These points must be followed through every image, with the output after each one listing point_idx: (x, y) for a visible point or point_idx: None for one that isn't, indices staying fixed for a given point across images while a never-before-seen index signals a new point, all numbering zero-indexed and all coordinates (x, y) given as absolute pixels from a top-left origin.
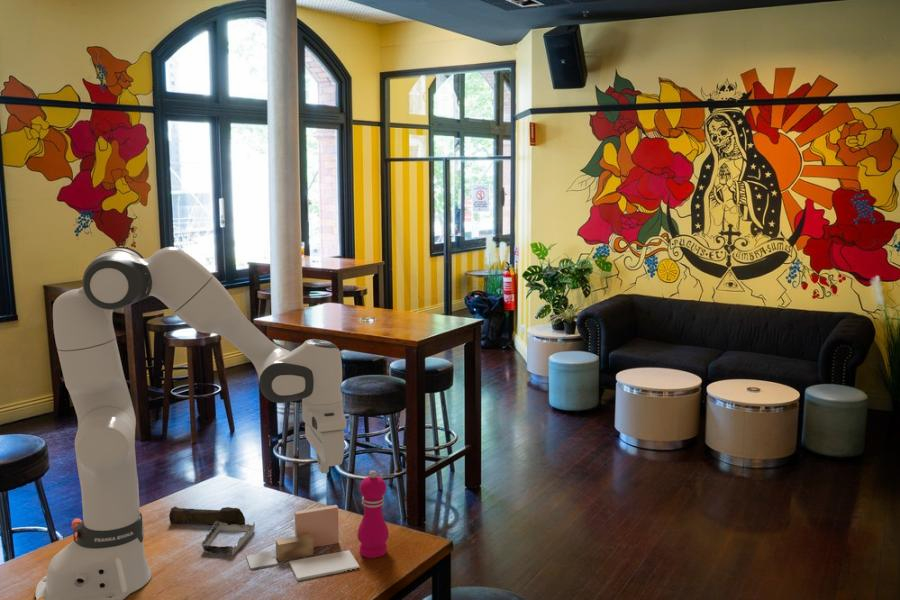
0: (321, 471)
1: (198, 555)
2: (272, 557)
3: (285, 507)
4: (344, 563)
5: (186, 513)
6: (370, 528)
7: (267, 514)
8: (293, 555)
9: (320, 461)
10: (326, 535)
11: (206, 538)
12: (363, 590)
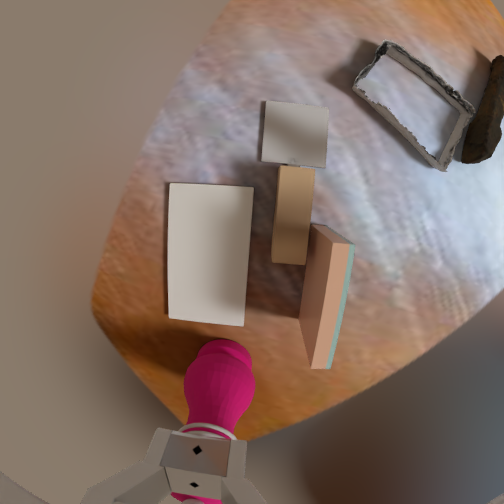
0: (155, 434)
1: (374, 39)
2: (295, 158)
3: (484, 264)
4: (190, 296)
5: (499, 75)
6: (189, 389)
7: (479, 222)
8: (275, 204)
9: (126, 487)
10: (305, 302)
11: (416, 60)
12: (98, 289)
